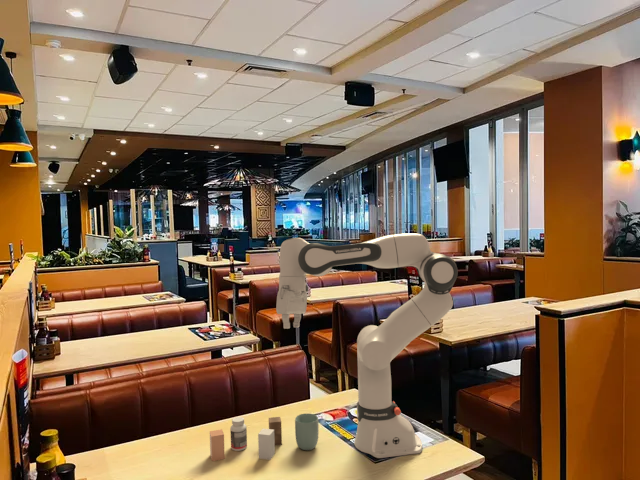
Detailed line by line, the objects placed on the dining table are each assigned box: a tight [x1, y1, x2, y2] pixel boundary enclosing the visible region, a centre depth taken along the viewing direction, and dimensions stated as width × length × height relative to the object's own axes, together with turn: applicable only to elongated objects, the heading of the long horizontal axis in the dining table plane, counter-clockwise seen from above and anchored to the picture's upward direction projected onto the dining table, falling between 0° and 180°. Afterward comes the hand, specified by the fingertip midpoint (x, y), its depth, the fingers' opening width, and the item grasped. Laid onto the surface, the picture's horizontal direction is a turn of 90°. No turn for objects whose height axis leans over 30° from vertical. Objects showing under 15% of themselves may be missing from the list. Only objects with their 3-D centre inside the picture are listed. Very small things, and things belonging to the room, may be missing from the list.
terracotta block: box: [209, 428, 226, 462], centre depth 153 cm, size 4×4×8 cm
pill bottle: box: [230, 416, 248, 452], centre depth 159 cm, size 5×5×10 cm
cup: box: [294, 413, 320, 451], centre depth 158 cm, size 8×8×10 cm
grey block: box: [257, 428, 276, 461], centre depth 153 cm, size 4×4×8 cm
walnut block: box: [268, 416, 283, 446], centre depth 162 cm, size 4×4×8 cm
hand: (291, 328), depth 157 cm, fingers open, 8 cm apart
